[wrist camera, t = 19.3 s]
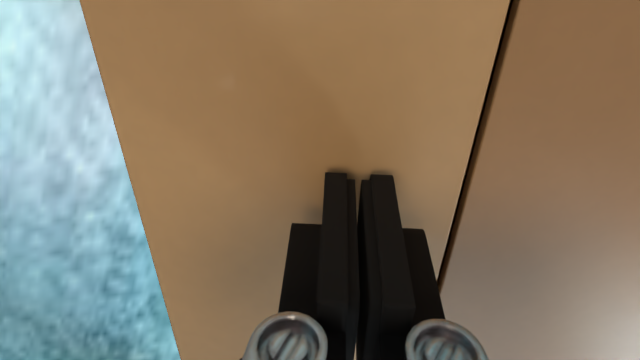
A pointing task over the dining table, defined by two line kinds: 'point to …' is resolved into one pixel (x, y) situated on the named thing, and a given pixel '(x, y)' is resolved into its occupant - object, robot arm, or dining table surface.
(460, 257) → the waste box
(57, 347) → the dining table surface
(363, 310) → the robot arm
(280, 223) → the flap
